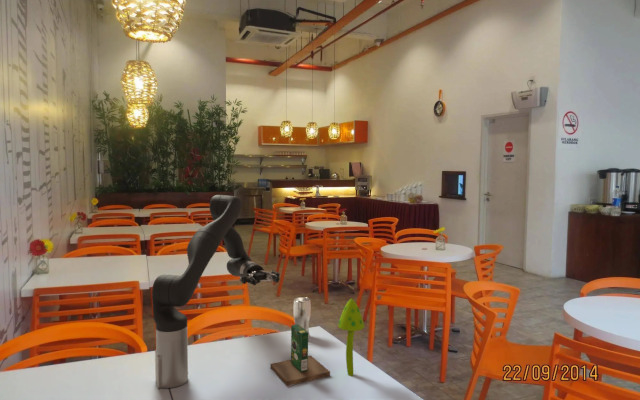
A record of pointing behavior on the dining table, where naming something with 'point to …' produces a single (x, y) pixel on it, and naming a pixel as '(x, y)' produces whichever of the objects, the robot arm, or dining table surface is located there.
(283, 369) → the walnut board
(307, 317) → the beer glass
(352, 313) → the mushroom
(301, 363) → the coffee box
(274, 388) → the dining table surface
